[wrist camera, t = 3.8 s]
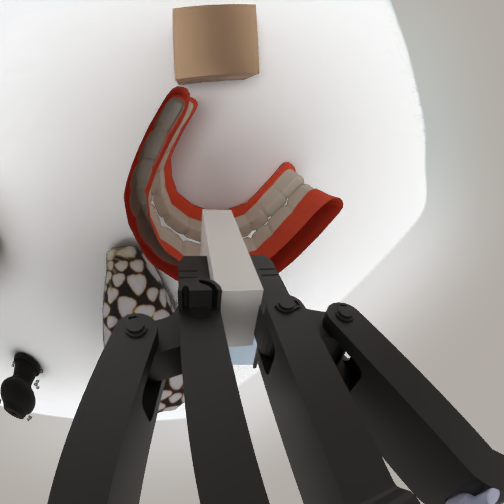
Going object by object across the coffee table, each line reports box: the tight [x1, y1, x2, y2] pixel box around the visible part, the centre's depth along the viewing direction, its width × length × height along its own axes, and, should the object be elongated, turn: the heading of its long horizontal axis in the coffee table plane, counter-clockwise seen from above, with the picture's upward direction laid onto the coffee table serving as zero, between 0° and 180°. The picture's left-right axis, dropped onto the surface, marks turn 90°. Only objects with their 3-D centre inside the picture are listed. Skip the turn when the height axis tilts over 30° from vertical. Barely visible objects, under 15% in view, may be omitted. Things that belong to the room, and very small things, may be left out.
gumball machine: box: [0, 353, 43, 421], centre depth 24 cm, size 7×6×10 cm
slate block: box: [228, 336, 258, 365], centre depth 28 cm, size 5×5×5 cm
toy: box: [124, 86, 343, 281], centre depth 19 cm, size 12×10×8 cm
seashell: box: [103, 246, 185, 413], centre depth 23 cm, size 16×13×10 cm
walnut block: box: [173, 4, 259, 85], centre depth 14 cm, size 5×5×5 cm
